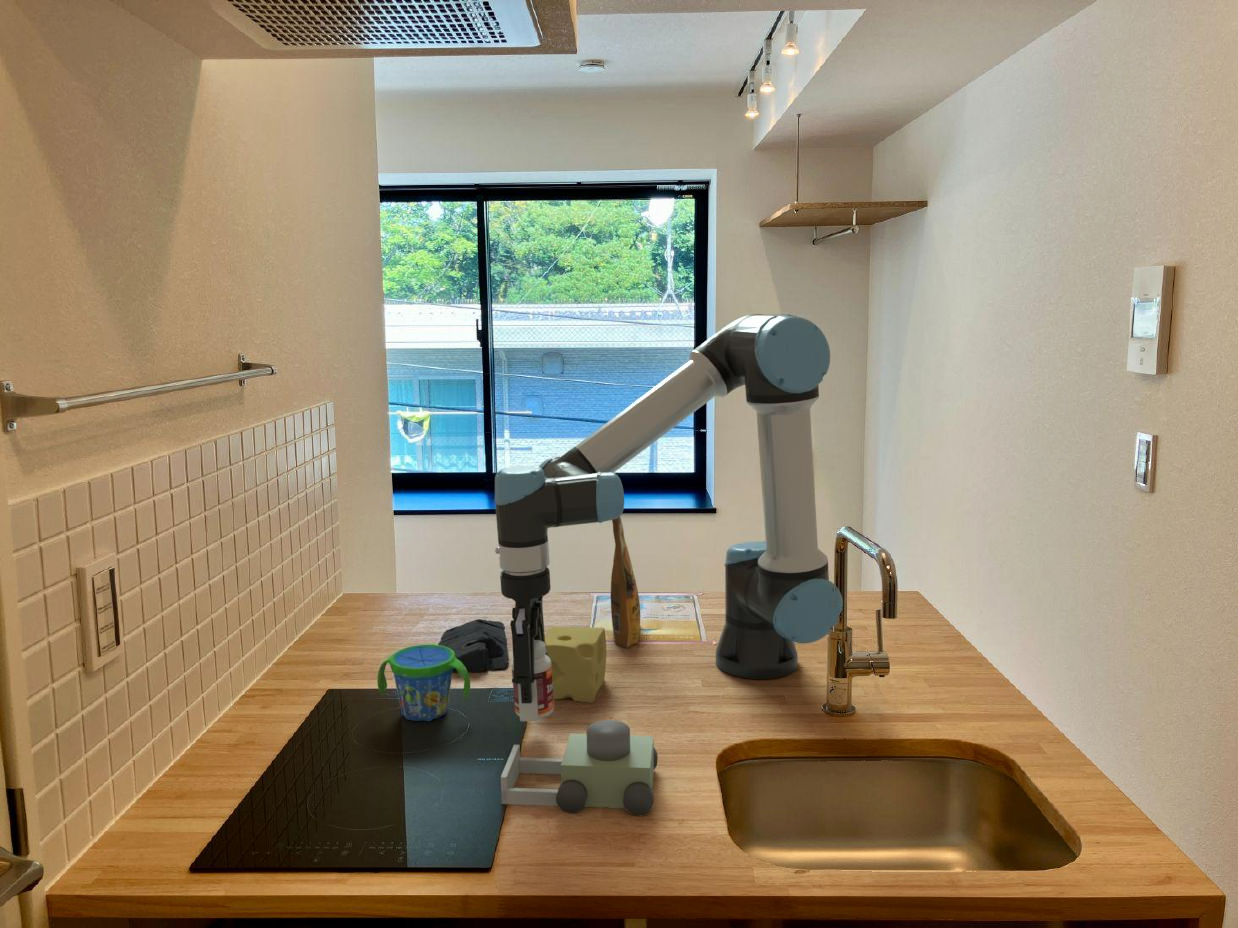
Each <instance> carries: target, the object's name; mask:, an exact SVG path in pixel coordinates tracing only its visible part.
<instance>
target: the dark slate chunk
mask: <svg viewBox="0 0 1238 928" xmlns="http://www.w3.org/2000/svg"><path fill="white" fill-rule="evenodd" d="M505 630H506V626H505V623H503V622H501V621H498V620H497V621H496V620H487V619H481V618H478V619H475V620H471V621H468V622H465V623H464V624H461V625H457V626H454V627H451V628H449V629H447V630H445V631H444V632H443V634H442V635H441V637H440V641H438V644H437V645H441V646H445V647H448V648H450V649H452V650H453V651H454V653H455V657H456V658H457V659H458V660H459V661H461V662H462V663H463V665H464V666H465V667H466V669H467V672H468V674H476V673H477V674H478V673H485V672H492V671H493V672H494V671H497V670H505V669H507V668H508V667H509V663H510V662H509V661H510V657H509V656H510V655H509V650H508V639H507V635H506V631H505ZM453 673H454V674H459V673H458V671H457V669H456V668H454V669H453ZM453 673H452V674H453Z"/></svg>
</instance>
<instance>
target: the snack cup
mask: <svg viewBox="0 0 1238 928" xmlns="http://www.w3.org/2000/svg"><path fill="white" fill-rule="evenodd" d="M387 664H389V666H390V670H391V672H392V673H393V677H394V682H395V687H396V693H397V697H398V701H399V706H400V710H401V713H402V716H403V717H405V719H406V720H407V721H415V722H420V721H425V722H431V721H432V720H435V719H439V718H440V717H442V716H443V715H446V713H447V712H448V709H449V708H448V707H449V703H450V695H451V685H452V677H453V669H454V668H456V669H457V671H458V673H457V674H459V676H460V677H461V678H462V680H463V682H464V683H463V692H462V693H463V694H462V700H466V698H468V696H469V694H470V690H471V679H470V675H469V674H470V673H468V672H467V669H466V667H465V666H464V665H463V663H462V662H461V661H459V660H458V659H457V658H456V657H455V653H454V651H453V650H452V649H450V648H448V647H445V646H441V645H438V644H417V645H411V646H408V647H404V648H402V649H399V650H397V651H395V652H393V654H391V656H389V657H387V658H386V659H385V660H384V661H383V662H382V663H381V665H380V667H379V668H378V671H377V672H378V673H377V681H376V683H377V688H378V689H377V690H378V691H379V692H380V693H384V692H385V691H387V688H388V682H387V677H386V674H385V670H386V667H387Z"/></svg>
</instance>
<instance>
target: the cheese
mask: <svg viewBox="0 0 1238 928" xmlns="http://www.w3.org/2000/svg"><path fill="white" fill-rule="evenodd" d="M605 629H606V628H605V627H601V626H600V627H599V626H598V627H571V626H570V627H569V626H568V627H567V626H555V625H554V626H553V625H552V626H550V627H549V628H548V629H547V631H546V633H544V634H545V646H546V653H548V657H549V658H550V660H551V665H552V683H553V698H554V700H564V699H567V698H571V699H572V701H574V702H581V703H589V704H591V703H592V704H593V703H594V702H595V701H596V696H597V695H598V692H599V690H600V689H601V687H602V685H603V684H604V681H605V678H606V667H607V640H606V637H607V636H606V630H605Z"/></svg>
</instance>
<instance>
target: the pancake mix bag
mask: <svg viewBox="0 0 1238 928" xmlns="http://www.w3.org/2000/svg"><path fill="white" fill-rule="evenodd" d="M611 521H612V530H613V531H612V532H613V538H614V545H615V546H614V554H613V561H612V562H613V565H612V570H611V576H610V580H611V581H610V609H611V610H610V611H611V613H610V615H611V624H612V630H613V631H612V632H613V633H612V634H613V638H614V644H616V645H618V646H620V647H623V648H627V649H629V647H630V646H634V645H636V644H638V642H639V639H640V633H641V630H640V629H641V603H640V596H639V590H638V585H637V581H636V576H635V573H634V570H633V565H632V561H631V558H630V553H629V548H628V545H627V542H626V539H625V531H624V526H623V525H624V524H623V521H622V518H621V516H620V517H619V518H617V519H614V520H611Z"/></svg>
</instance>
